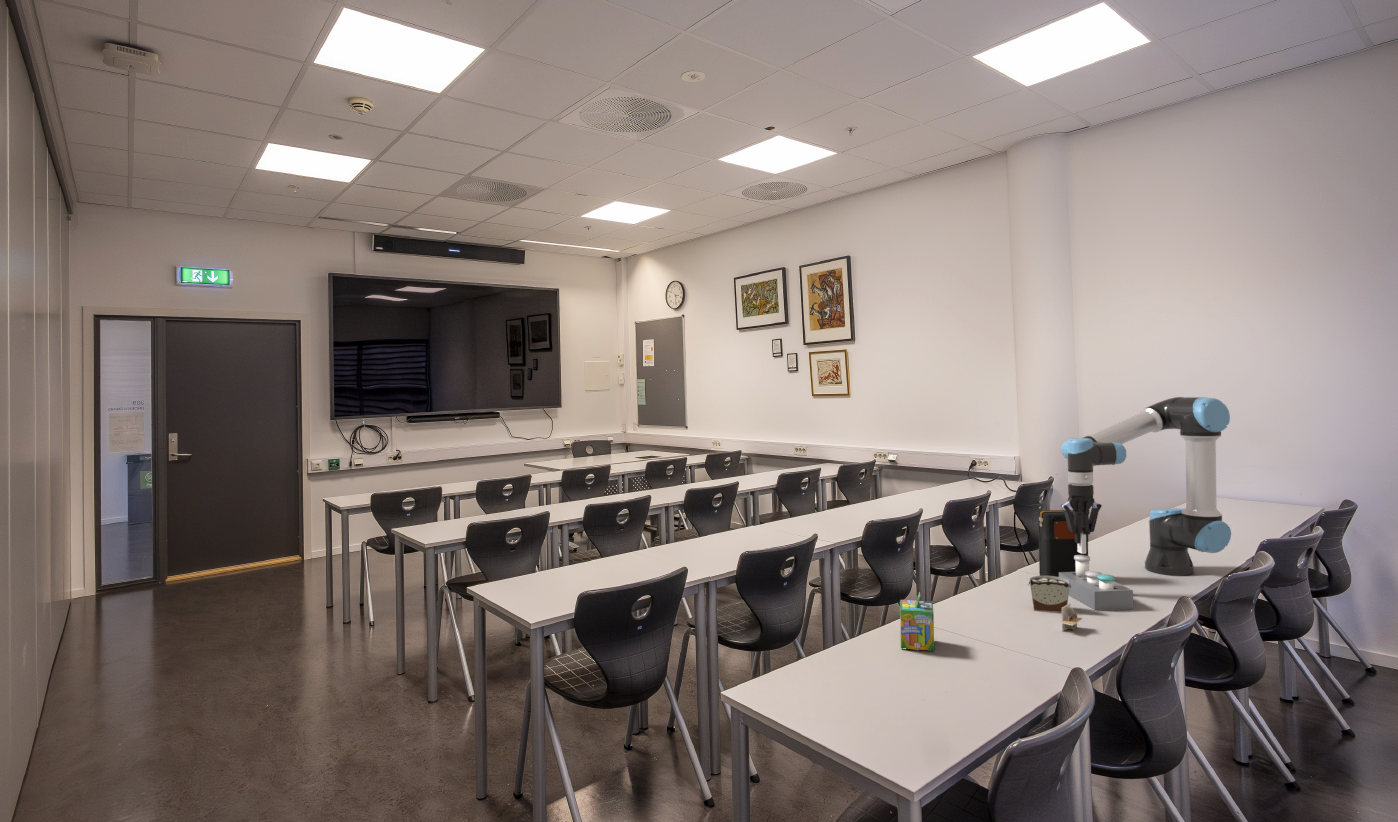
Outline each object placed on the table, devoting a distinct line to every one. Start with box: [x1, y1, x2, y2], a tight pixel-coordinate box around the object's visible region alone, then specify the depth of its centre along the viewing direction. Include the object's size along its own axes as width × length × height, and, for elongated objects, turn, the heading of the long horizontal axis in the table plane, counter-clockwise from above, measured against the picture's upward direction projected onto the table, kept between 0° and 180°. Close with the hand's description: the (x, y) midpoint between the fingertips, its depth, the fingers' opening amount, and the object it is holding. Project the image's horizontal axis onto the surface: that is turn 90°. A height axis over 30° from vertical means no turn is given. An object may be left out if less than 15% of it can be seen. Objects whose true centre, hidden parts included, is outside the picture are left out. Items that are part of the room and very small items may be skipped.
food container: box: [1027, 575, 1071, 614], centre depth 219 cm, size 12×6×10 cm, turn 71°
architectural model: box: [1061, 603, 1083, 632], centre depth 200 cm, size 3×7×7 cm, turn 129°
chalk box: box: [899, 591, 935, 652], centre depth 194 cm, size 9×9×15 cm
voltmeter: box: [1037, 509, 1089, 577], centre depth 250 cm, size 16×9×25 cm, turn 84°
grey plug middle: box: [1086, 570, 1103, 583], centre depth 227 cm, size 5×5×8 cm
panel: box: [1059, 572, 1134, 611], centre depth 227 cm, size 12×22×6 cm, turn 179°
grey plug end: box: [1074, 555, 1091, 577], centre depth 234 cm, size 5×5×8 cm
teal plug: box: [1097, 573, 1116, 590], centre depth 220 cm, size 5×5×8 cm
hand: (1081, 552), depth 234 cm, fingers closed
